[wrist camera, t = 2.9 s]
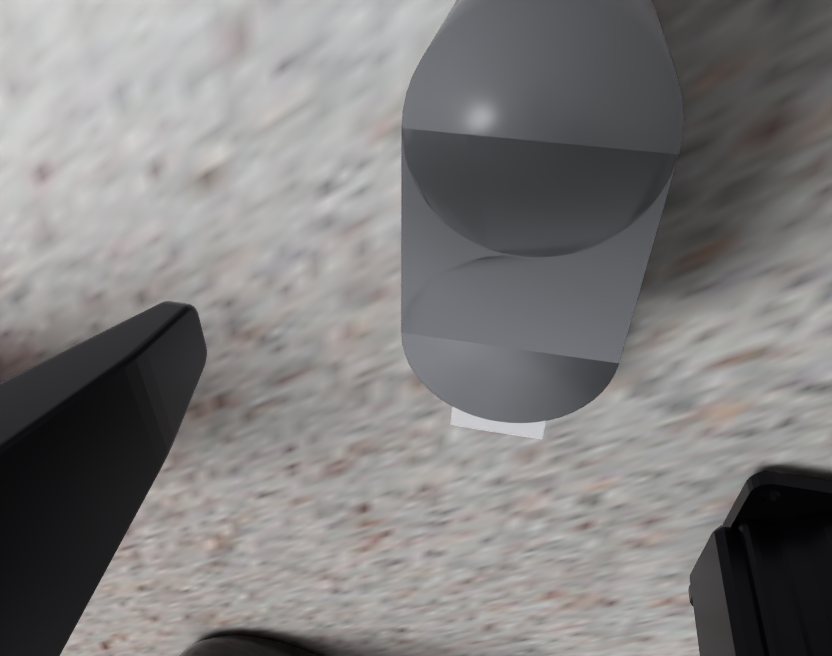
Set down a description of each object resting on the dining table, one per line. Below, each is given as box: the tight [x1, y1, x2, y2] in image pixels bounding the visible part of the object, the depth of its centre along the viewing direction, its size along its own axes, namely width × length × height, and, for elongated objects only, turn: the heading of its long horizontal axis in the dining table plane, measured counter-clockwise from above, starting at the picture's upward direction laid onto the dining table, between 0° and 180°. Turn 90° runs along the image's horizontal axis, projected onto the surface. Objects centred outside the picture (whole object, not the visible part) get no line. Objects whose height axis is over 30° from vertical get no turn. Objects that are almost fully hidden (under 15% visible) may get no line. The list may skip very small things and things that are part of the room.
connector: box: [401, 0, 684, 440], centre depth 13 cm, size 4×10×4 cm, turn 179°
